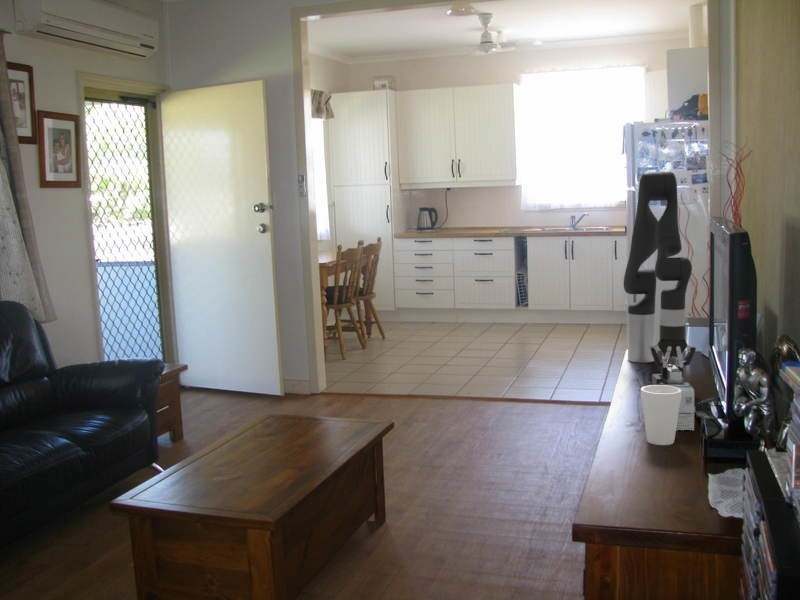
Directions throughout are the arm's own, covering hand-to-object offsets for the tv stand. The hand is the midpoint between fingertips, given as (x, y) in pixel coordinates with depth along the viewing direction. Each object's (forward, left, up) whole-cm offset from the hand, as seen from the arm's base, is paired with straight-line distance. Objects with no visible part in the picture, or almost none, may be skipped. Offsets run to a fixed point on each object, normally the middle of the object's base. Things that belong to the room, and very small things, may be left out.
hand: (672, 378), depth 251 cm
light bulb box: (+40, -9, -4) cm, 41 cm away
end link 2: (+6, 0, -4) cm, 7 cm away
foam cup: (+52, -14, -4) cm, 54 cm away
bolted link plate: (0, 0, -1) cm, 1 cm away
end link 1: (-6, 0, -4) cm, 7 cm away
